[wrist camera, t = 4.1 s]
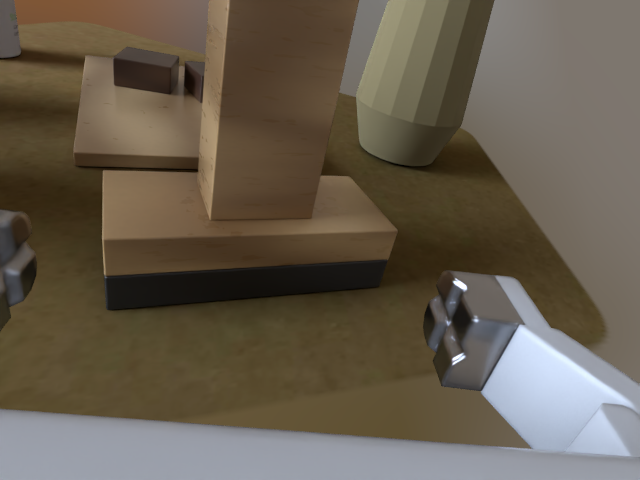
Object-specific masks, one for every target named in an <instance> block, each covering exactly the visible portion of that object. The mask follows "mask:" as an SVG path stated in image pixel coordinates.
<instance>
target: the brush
mask: <svg viewBox="0 0 640 480" xmlns="http://www.w3.org/2000/svg"><path fill="white" fill-rule="evenodd" d="M358 3H359V0H209V11H208V27H207V42H206V57H205V72H204V87H203V103H202V118H201V133H200V148H199V163H198V173H193V172H153V171H112V170H104V171H103V201H102V246H103V264H104V281H105V298H106V308H107V310H115V309H126V308H138V307H149V306H161V305H173V304H184V303H196V302H207V301H219V300H231V299H242V298H254V297H265V296H277V295H289V294H300V293H312V292H324V291H335V290H347V289H358V288H370V287H378V286H379V285H380V282H381V279H382V276H383V273H384V270H385V267H386V264H387V259H389V256H390V253H391V250H392V247H393V244H394V241H395V238H396V235H397V232H398V230H397V229H396V228H395V227H394V226H393V224H392V223H391V222H390V221H389V220H388V219H387V218H386V217H385V215H384V214H383V213H382V212H381V211H380V210H379V209H378V208H377V207H376V205H375V204H374V203H373V202H372V201H371V200H370V199H369V198H368V196H367V195H366V194H365V193H364V192H363V191H362V190H361V189H360V187H359V186H358V185H357V184H356V183H355V182H354V181H353V180H352V178H351V177H349V176H321V172H322V167H323V163H324V158H325V154H326V149H327V144H328V140H329V135H330V131H331V126H332V122H333V117H334V112H335V108H336V103H337V99H338V94H339V90H340V85H341V80H342V76H343V71H344V66H345V62H346V58H347V53H348V48H349V44H350V39H351V35H352V30H353V26H354V21H355V16H356V11H357V7H358Z"/></svg>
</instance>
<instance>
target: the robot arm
mask: <svg viewBox="0 0 640 480" xmlns="http://www.w3.org/2000/svg"><path fill="white" fill-rule="evenodd" d="M31 234H32V229H31V224H30V219H29V217H28V216H27V215H26V214H25V213H24V212H20V211H14V210H7V209H1V208H0V331H1V330H2V328H3V327H4V326H5V324H6V323H7V322H8V321H9V319H10V318H11V314H10V309H9V307H11V306H13V305H15V304H17V303H20V302H22V301H24V299H25V298H26V296H27V295H28V294H29V292H30V291H31V289H32V286H33V283H34V280H35V277H36V269H37V261H36V254H35V252H34V251H33V250H32V249H31V248H30V247H29V246H28V244H27V243H26V242H25V241H26V240H27V239H28V238H29V236H30V235H31ZM436 287H437V289H438V292H439V295H438V296H436V297H435V298H434V299H432V300H431V301H429V303H428V306H427V309H426V311H425V315H424V324H423V329H424V336H425V339H426V342H427V345H428V346H429V347H430V348H431V349H433V350H434V351H435V352H436V355H435V357H434V359H433V363H434V366H435V369H436V372H437V374H438V377H439V380H440V383H441V386H444V387H452V388H460V389H469V390H476V391H481V394H482V395H483V396H484V397H485V398H486V399H487V400H488V401H489V402H490V404H491V405H492V406H493V407H494V408H495V409H496V410H497V411H498V412H499V413H500V414H501V415H502V416H503V418H504V419H505V420H506V421H507V422H508V423H509V424H510V425H511V426H512V427H513V428H514V429H515V431H516V432H517V433H518V434H519V435H520V436H521V437H522V438H523V439H524V440H525V441H526V442H527V444H529V446H530V447H531V448H532V449H525V448H511V447H498V446H484V445H470V444H456V443H443V442H430V441H417V440H405V439H392V438H379V437H366V436H353V435H341V434H328V433H315V432H302V431H289V430H276V429H262V428H249V427H235V426H222V425H209V424H194V423H182V422H169V421H155V420H142V419H129V418H115V417H102V416H89V415H76V414H62V413H49V412H36V411H23V410H9V409H0V480H640V384H639V383H638V382H636V381H635V380H633V379H632V378H630V377H629V376H627V375H626V374H624V373H623V372H621V371H620V370H618V369H617V368H615V367H614V366H612V365H611V364H609V363H608V362H606V361H605V360H603V359H602V358H600V357H599V356H597V355H596V354H594V353H593V352H591V351H590V350H588V349H587V348H585V347H584V346H582V345H581V344H579V343H578V342H576V341H575V340H573V339H572V338H570V337H569V336H567V335H566V334H564V333H563V332H561V331H560V330H558V329H552V328H551V327H550V326H549V325H548V323H547V322H546V320H545V319H544V317H543V316H542V314H541V313H540V311H539V310H538V309H537V307H536V306H535V304H534V303H533V301H532V300H531V298H530V297H529V296H528V294H527V293H526V291H525V290H524V288H523V287H522V285H521V284H520V282H519V281H518V280H517V279H515V278H513V277H507V276H497V275H485V274H476V273H467V272H458V271H450V270H445V271H444V272H443V273H442V274H441V275H440V277H439V280H438V282H437V284H436Z"/></svg>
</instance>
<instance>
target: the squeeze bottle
mask: <svg viewBox="0 0 640 480" xmlns="http://www.w3.org/2000/svg"><path fill="white" fill-rule="evenodd" d="M493 3H494V0H388V3H387V6H386V9H385V13H384V15H383V18H382V21H381V23H380V26H379V29H378V32H377V35H376V38H375V41H374V44H373V47H372V49H371V52H370V55H369V58H368V62H367V64H366V67H365V70H364V73H363V76H362V79H361V82H360V84H359V87H358V90H357V93H356V101H357V115H358V130H359V142H360V144H361V147H362V148H364V149H365V150H366V151H367V152H369V153H370V154H372V155H374V156H377V157H379V158H381V159H383V160H386V161H390V162H393V163H396V164H401V165H408V166H426V165H428V164H431V163H432V162H433V161H434V160H435V158H436V157H437V156H438V154H439V153H440V152H441V150H442V149H443V148H444V147H445V145H446V144H447V143H448V141H449V140H450V139H451V138H452V136H453V135H454V134H455V132H456V131H457V130H458V128H459V127H460V126H461V124H462V121H463V117H464V113H465V110H466V106H467V102H468V98H469V94H470V91H471V87H472V83H473V79H474V75H475V71H476V68H477V64H478V60H479V56H480V53H481V49H482V45H483V41H484V37H485V34H486V30H487V26H488V22H489V18H490V14H491V11H492V7H493Z"/></svg>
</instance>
